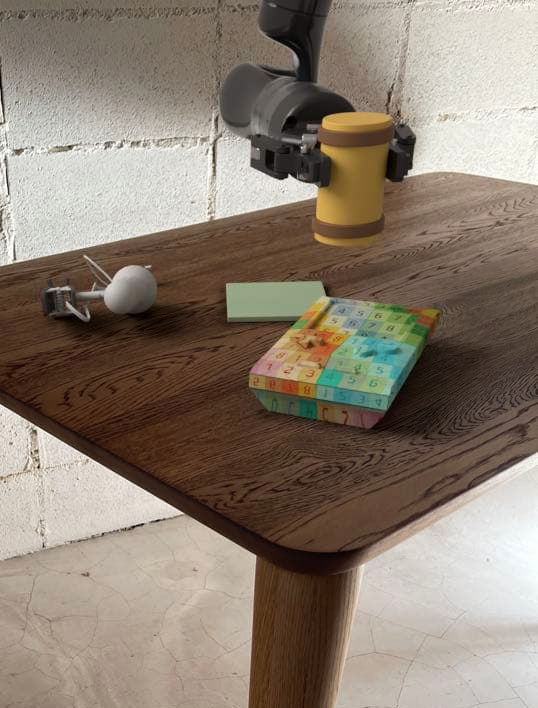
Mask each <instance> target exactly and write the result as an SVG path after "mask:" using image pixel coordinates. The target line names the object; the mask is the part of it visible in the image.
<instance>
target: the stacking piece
mask: <svg viewBox="0 0 538 708" xmlns="http://www.w3.org/2000/svg"><path fill="white" fill-rule="evenodd" d="M395 125H396V124H395V123H394V122H393V117H392V116H391V115H389V114H386V113H381V112H372V111H371V112H369V111H356V112H348V113H338V114H332V115H329V116H326V117H324V118H323V123H321V124H320V125H319V126H318V141H319V142H321V151H322V152H324V153H325V154H327V155H328V156H329V157H330V159H331V170H330V183H329V187H325V188H318V187H317V196H316V211H315V212H314V213H313V214H312V216H311V231H313V232H314V239H315V240H316V241H317V242H319V243H322V244H325V245H329V246H335V247H359V246H367V245H370V244H373V243H375V242H377V241H378V240H379V239H380V234H381V233H382V232H383V231H384V229H385V220H386V216H385V214H384V213H383V205H384V196H385V188H386V187H385V186H386V179H387V178H386V170H387V161H388V152H389V143H390V142H391V141H393V139H394V135H395Z"/></svg>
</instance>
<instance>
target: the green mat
mask: <svg viewBox="0 0 538 708" xmlns="http://www.w3.org/2000/svg"><path fill="white" fill-rule="evenodd" d="M225 293H226V311H227V313H226V315H227V323H257V322H258V323H264V322H297V321H298V320H299V319H300V318H301V317H302V316H303V315H304V314H305V313H306V312H307V311H308V310H309V309H310V308H311V307H312V306H313V305H314V304H315V303H316V302H317V300H318V299H319V298H320V297H321V296H326V297H327V293H326V291H325V287H324V285H323V282H322V281H321V280H316V281H313V280H311V281H310V280H309V281H308V280H307V281H269V282H266V281H265V282H264V281H263V282H229V283H228V282H226V284H225Z"/></svg>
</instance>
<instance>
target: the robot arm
mask: <svg viewBox="0 0 538 708" xmlns="http://www.w3.org/2000/svg"><path fill="white" fill-rule="evenodd" d="M333 3H334V0H260V3H259V6H258V12H257V17H256V26H257V29H258V31H259V33H260V34H261V35H262V36H264V37H265V38H267V40H270V41H272V42H274V43H275V44H278V45H280V46H283V48H284V47H285V48H286V49H288V50H289V51H290V52H291V54H292V64H291V68H286V67H281V66H277V65H272V64H267V63H262V62H256V61H249V60H248V61H247V60H246V61H242V62H240V63H237V64H236V65H234V66H233V67H232V68H231V69H230V70H229V71H228V72H227V74H226V75H225V76H224V78H223V80H222V83H221V85H220V88H219V91H218V92H219V93H218V99H217V100H218V106H217V107H218V113H219V118H220V120H221V123H222V125H223V126H224V127H225V129H226V130H227V131H228V132H229V133H231V134H232V135H234V136H236V137H239V138H241V139H245V140H247V141H249V142H250V155H249V156H250V157H249V158H250V159H249V166H250V168H252V169H253V170H256V171H258V172H261V173H263V174H264V175H266V176H269V177H270V178H272V179H275V180H277V181H283V180H287V179H289V176H291V178H293V179H294V180H296V181H299V182H301V183H303V184H308V185H309V184H310V185H315V187H317V189H318V188H325V187H329V183H330V170H331V159H330V157H329V156H328V155H327V154H325V153H324V152H322V151H321V142H319V141H318V126H319V125H320V124H321V123H323V118H324V117H326V116H329V115H332V114H338V113H348V112H357V110H356V108H355V107H354V105H353V104H352V103H351V102H350V101H349V100H348V99H347V98H346V97H344V96H342V95H340V94H338V93H336V92H335V91H333V90H331V89H329V88H327V87H326V86H323V85H321V84H320V69H321V67H320V66H321V57H322V49H323V44H324V38H325V37H324V36H325V31H326V27H327V23H328V20H329V15H330V13H331V9H332V6H333ZM416 143H417V135H416V134H415V133H414V131H413V130H412V128H411V127H410V126H409V125H408V124H405V123H397V124H395V135H394V139H393V141H391V142H390V143H389V152H388V161H387V170H386V179H387V180H388V181H389V182H391V183H394V184H395V183H402V182H404V180H405V177H408V175H409V171H411V170H413V168H414V167H413V166H414V155H415V148H416Z"/></svg>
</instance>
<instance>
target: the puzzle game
mask: <svg viewBox="0 0 538 708" xmlns="http://www.w3.org/2000/svg"><path fill="white" fill-rule="evenodd" d="M441 313H442V311H441V310H440V309H432V308H425V307H417V306H409V305H401V304H400V305H399V304H394V303H393V304H391V303H385V302H376V301H368V300H358V299H349V298H342V297H334V296H327V295H326V296H321V297H320V298H319V299H318V300H317V302H316V303H315V304H314V305H313V306H312V307H311V308H310V309H309V310H308V311H307V312H306V313H305V314H304V315H303V316H302V317H301V318H300V319H299V320H298V321H295V323H294V324H293V325H292V326H291V327H290V328H289V329H288V330H287V331H286V332H285V333H284V334H283V335H282V336H281V338H279V339H278V341H276V342H275V343H274V344H273V345H272V347H270V348H269V349H268V351H267V352H266V353H265V354H264V355H263V356H262V357H261V358H260V359H259V360H258V361H257V362H256V363H255V364H254V365H253V366H252V368H251V370H250V371H249V372H248V384H247V385H248V389H249V390H250V391H251V392H252V394H253V395H254V396H255V397H256V398H257V400H258V401H260V403H261V405H263V406H264V408H265V409H266V410H267V411H269V412H273V413H278V414H285V415H289V416H296V417H300V418H301V417H302V418H306V419H313V420H317V421H323V422H329V423H333V424H339V425H340V424H341V425H345V426H350V427H351V426H352V427H356V428H357V427H358V428H363V429H368V430H369V429H371V428H372V427H374V426H375V425H376V424H377V423H378V422H380V420H382V419H383V418H384V416H385V415H386V414H387V411H388V410H389V408H390V407H391V406H392V403H393V402H394V400H395V398H396V397H397V395H398V393H399V392H400V390H401V388H402V386H403V385H404V383H405V382H406V380H407V378H408V376H409V375H410V373H411V371H412V370H413V368H414V367H415V365H416V363H417V361H418V360H419V358H420V356H421V355H422V353H423V351H424V350H425V348H426V346H427V344H428V343H429V341H430V340H431V338H432V337H433V335H434V333H435V331H436V329H437V328H438V326H439V324H440V320H441Z"/></svg>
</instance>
